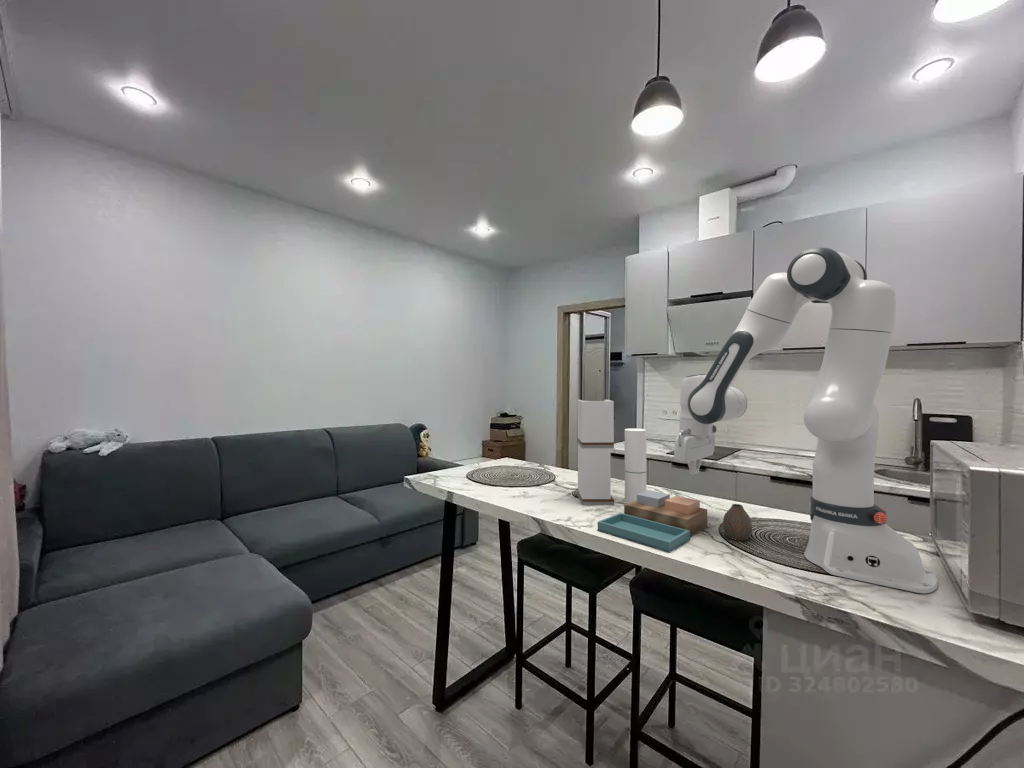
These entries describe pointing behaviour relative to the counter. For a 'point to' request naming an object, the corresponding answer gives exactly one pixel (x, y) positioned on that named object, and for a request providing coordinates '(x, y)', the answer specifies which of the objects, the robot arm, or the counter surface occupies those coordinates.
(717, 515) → the counter surface
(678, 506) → the terracotta tile
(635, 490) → the cylindrical container
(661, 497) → the slate tile
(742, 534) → the vase
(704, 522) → the block
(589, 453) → the white stacked pillar
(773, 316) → the robot arm
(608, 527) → the tray
